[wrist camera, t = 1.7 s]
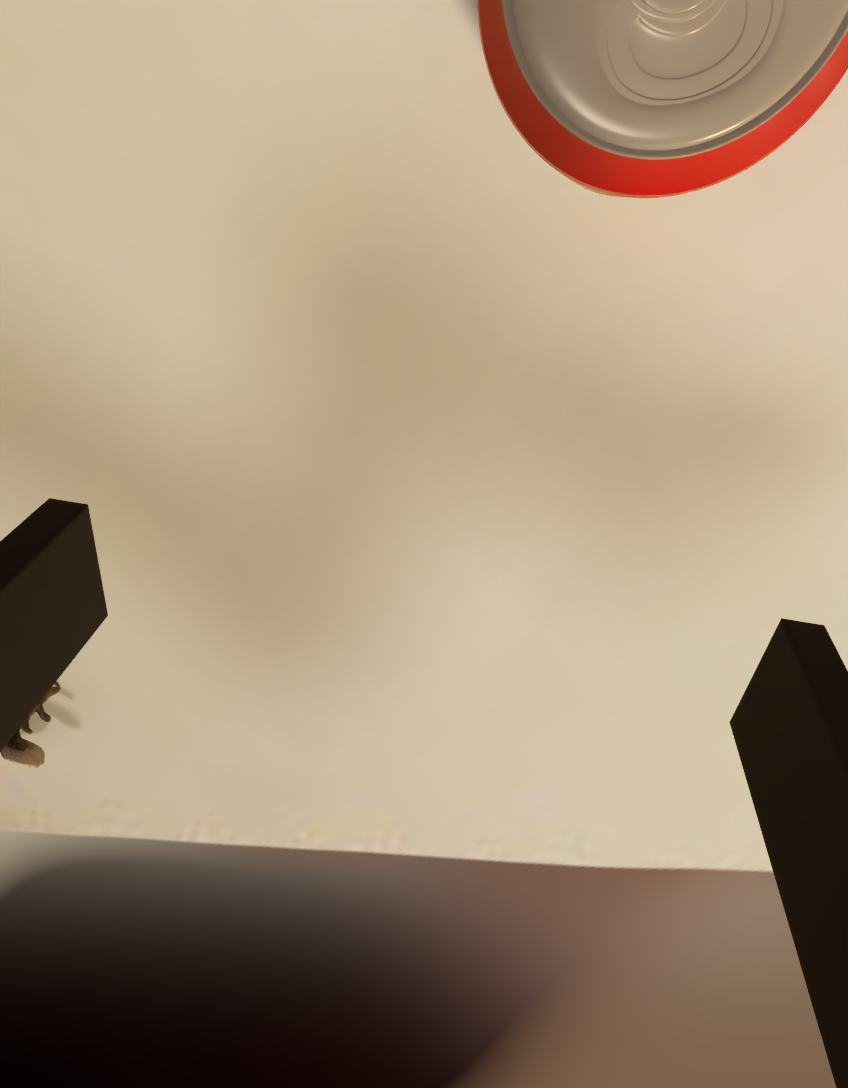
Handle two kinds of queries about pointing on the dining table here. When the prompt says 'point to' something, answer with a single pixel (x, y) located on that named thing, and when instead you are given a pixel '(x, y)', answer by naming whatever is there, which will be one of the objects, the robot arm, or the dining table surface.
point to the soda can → (661, 84)
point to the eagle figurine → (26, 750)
